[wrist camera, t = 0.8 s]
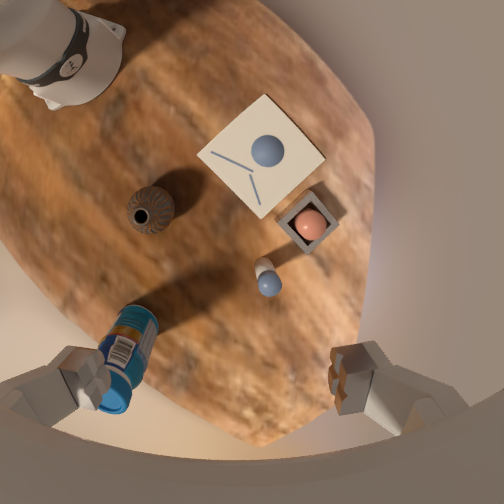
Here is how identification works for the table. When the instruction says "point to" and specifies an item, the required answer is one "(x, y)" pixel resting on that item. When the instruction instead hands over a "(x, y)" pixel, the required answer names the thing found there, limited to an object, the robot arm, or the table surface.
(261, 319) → the table surface
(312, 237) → the button
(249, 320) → the table surface
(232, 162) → the drawing pad
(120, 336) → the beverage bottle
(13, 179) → the table surface
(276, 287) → the dome-topped peg
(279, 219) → the button housing
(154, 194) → the vase
